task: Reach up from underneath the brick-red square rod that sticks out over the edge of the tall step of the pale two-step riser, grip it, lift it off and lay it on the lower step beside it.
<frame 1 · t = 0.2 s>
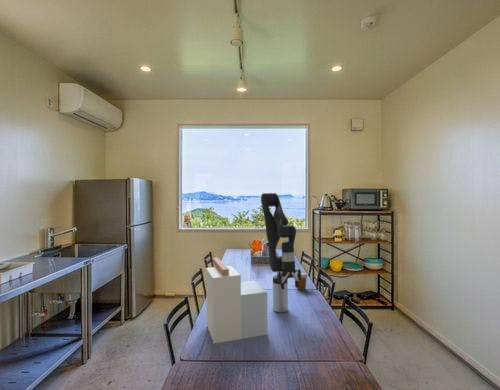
hand: (289, 288, 168), 17 cm above the table, tool pointing down, fingers open, 8 cm apart
rod: (220, 268, 158), point 32 cm above the table, touching riser
riser: (236, 330, 155), on the table
disposable coffee cup: (301, 289, 219), on the table
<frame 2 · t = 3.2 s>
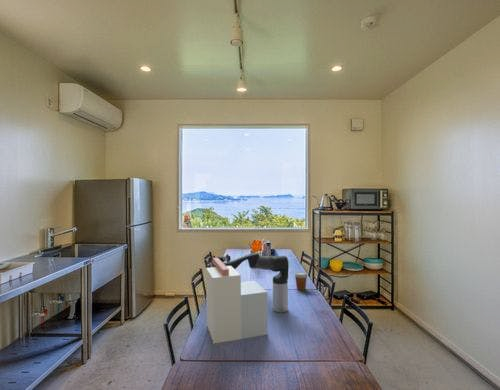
hand: (221, 256, 184), 33 cm above the table, tool pointing upward, fingers open, 8 cm apart
nothing on the table moved.
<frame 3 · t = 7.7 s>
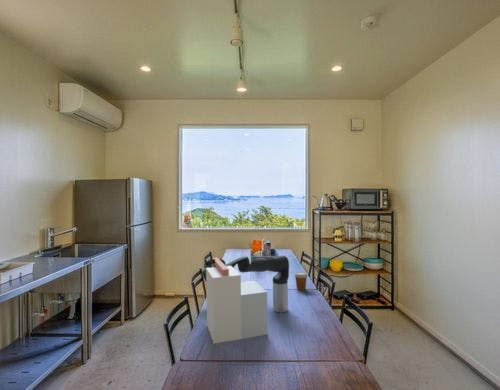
hand: (217, 260, 166), 35 cm above the table, tool pointing upward, fingers closed on rod, 3 cm apart
rod: (220, 268, 158), point 32 cm above the table, touching gripper, riser
everything else where it was.
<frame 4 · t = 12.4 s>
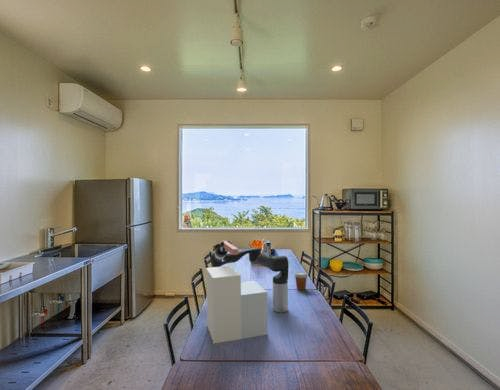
hand: (226, 242, 177), 43 cm above the table, tool pointing upward, fingers closed on rod, 3 cm apart
rod: (229, 249, 170), point 40 cm above the table, touching gripper
everything else where it was.
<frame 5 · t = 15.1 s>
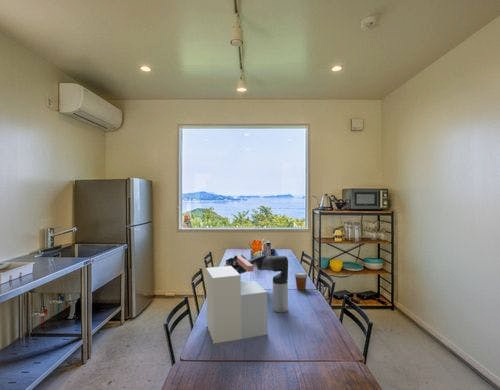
hand: (239, 257, 173), 35 cm above the table, tool pointing upward, fingers closed on rod, 3 cm apart
rod: (243, 265, 166), point 32 cm above the table, touching gripper
everything else where it was.
when the fingers open (26 cm above the table, at t = 17.5 s): rod drops 1 cm, resting on riser.
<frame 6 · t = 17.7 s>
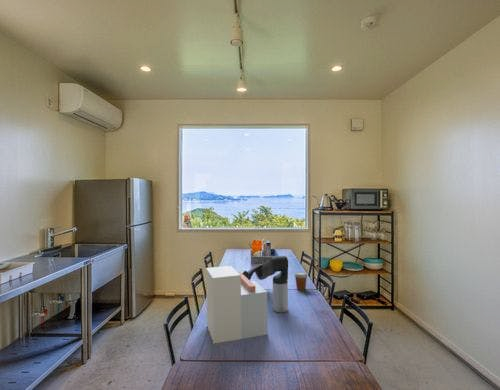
hand: (241, 272, 170), 26 cm above the table, tool pointing upward, fingers open, 5 cm apart
rod: (244, 284, 163), point 22 cm above the table, touching riser
everything else where it was.
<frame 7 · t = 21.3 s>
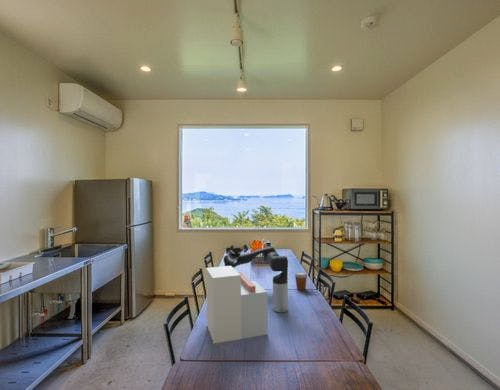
hand: (239, 246, 188), 39 cm above the table, tool pointing upward, fingers open, 8 cm apart
nothing on the table moved.
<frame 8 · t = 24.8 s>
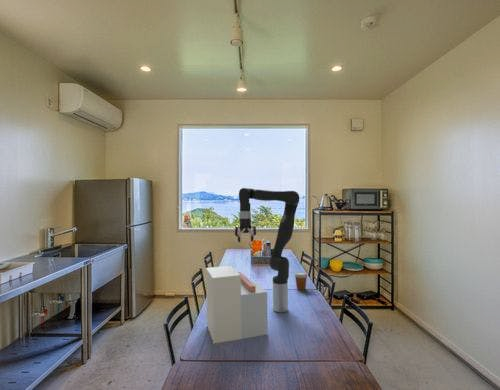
hand: (245, 241, 195), 40 cm above the table, tool pointing down, fingers open, 8 cm apart
nothing on the table moved.
at the end: rod inside the target area on the riser (0.1 cm from its centre), point 22.0 cm above the riser's base; the gripper is holding nothing; rod tilted 0° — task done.
